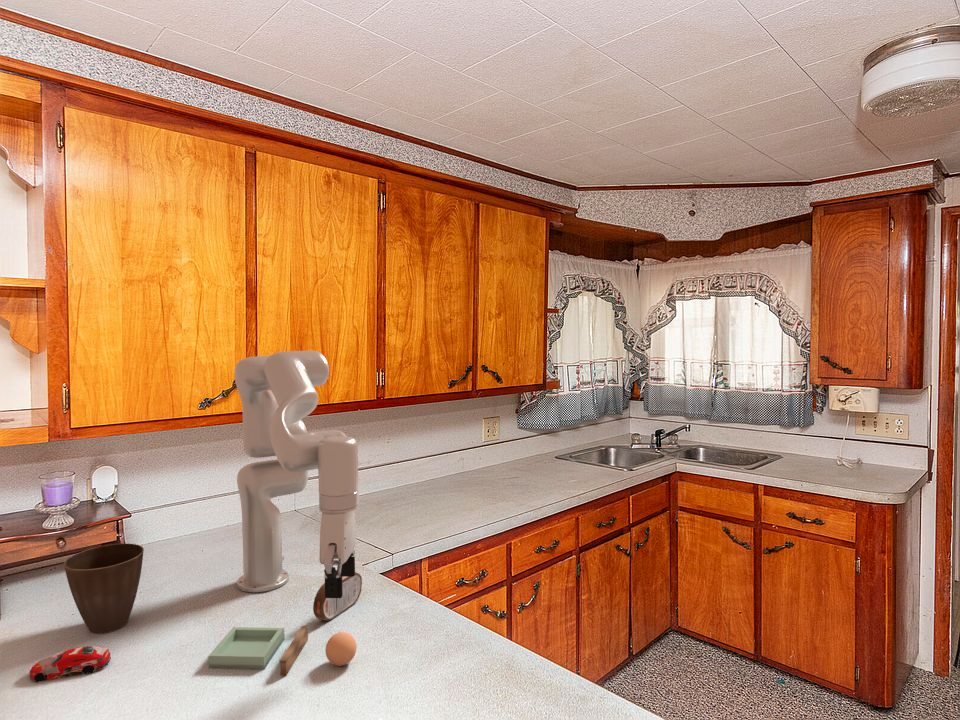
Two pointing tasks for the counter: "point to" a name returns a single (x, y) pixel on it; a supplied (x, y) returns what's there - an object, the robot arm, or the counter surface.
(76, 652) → the race car
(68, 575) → the plant pot
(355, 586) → the tin
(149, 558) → the counter surface
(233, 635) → the tray
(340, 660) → the ball
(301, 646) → the rail
